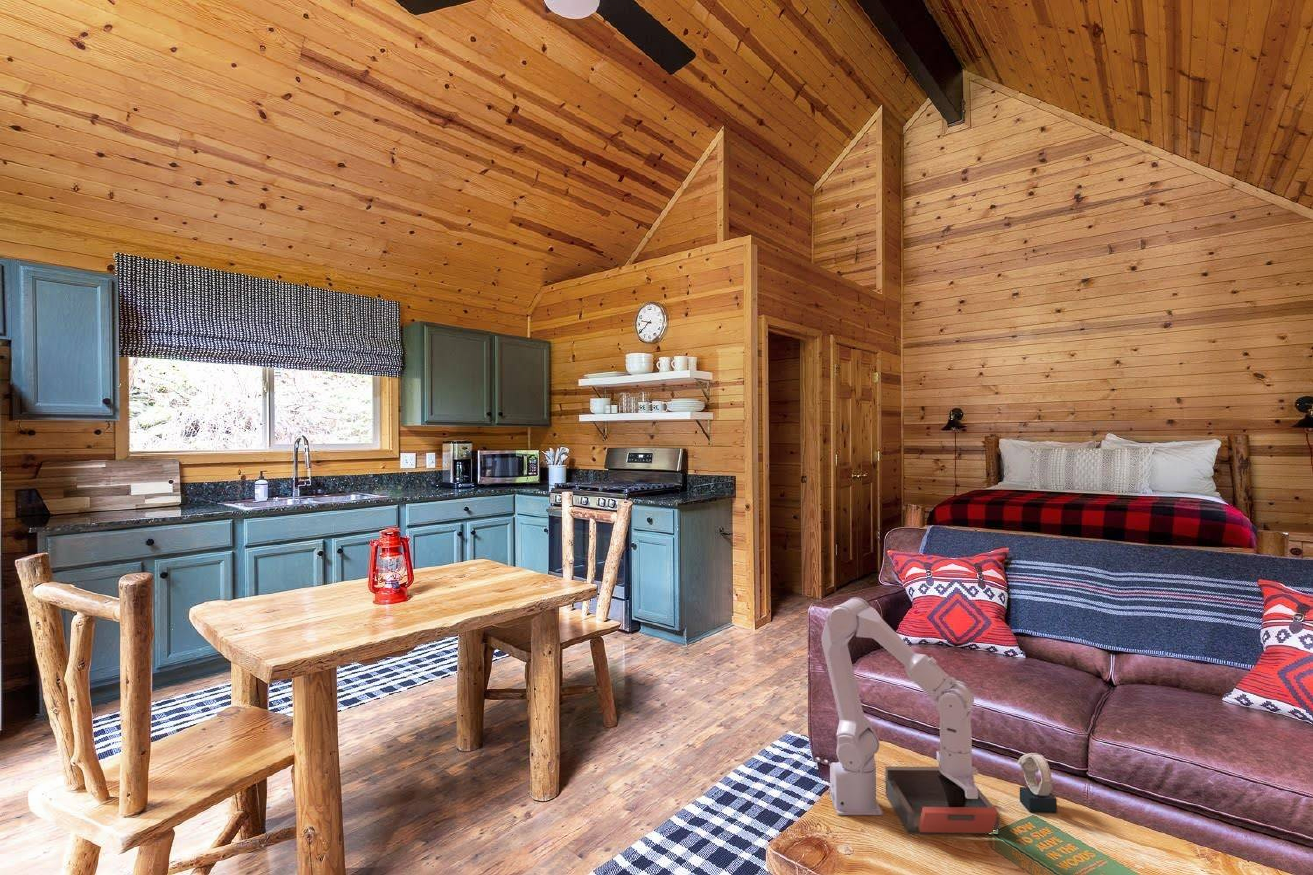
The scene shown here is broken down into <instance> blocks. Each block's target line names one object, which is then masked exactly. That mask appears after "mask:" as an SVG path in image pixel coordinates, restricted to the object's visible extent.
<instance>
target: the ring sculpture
mask: <svg viewBox="0 0 1313 875" xmlns="http://www.w3.org/2000/svg"><path fill="white" fill-rule="evenodd" d="M1017 764H1018V765H1019V766H1020V769H1021V772H1022V774H1023V777H1024V779H1025V782H1026V785H1027V786H1019V803H1021V805H1022V806H1023V807H1024V808H1025V809H1026V810H1027V811H1028V812H1029V813H1030V814H1058V802H1057V801H1058V800H1057V797H1056V796H1055V795H1054V794H1053V793H1052V788H1053V782H1052V781H1053V778H1052V773H1051V769H1050V766H1049V763H1048V761H1047V760H1046V758H1045V756H1043V754H1040V753H1036V752H1029V753H1025V754H1023V755H1022V756H1020V757H1019V759H1018V760H1017ZM1037 773H1040V780H1041V781H1039V783H1038V780H1037V776H1036V774H1037Z"/></svg>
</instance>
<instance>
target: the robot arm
mask: <svg viewBox="0 0 1313 875" xmlns="http://www.w3.org/2000/svg"><path fill="white" fill-rule="evenodd" d="M824 619H825V623H824V627H823V630H822V634H821V645H822V650H823V654H824V658H825V663H826V667H827V672H828V675H829V681H830V685H831V689H832V693H833V694H832V695H833V698H834V702H835V706H836V711H837V715H838V720H839V722H838V725H837V726H838V727H837V730H836V739H837V744H836V745H837V746H836V750H835V751H836V752H835V753H836V757H837V760H838V762H832V763H830V766H829V783H830V784H829V787H830V788H829V790H830V789H831V790H830V791H829V798H830V799H831V802H832V804H833V807H834V808H835V811H836V813H837V815H839V816H883V811H882V809H881V806H880V805H879V803H878V801H877V776H876V775H877V768H876V767H877V764H876V760H875V754H877V753H878V751H879V749H880V745H881V744H880V740H879V737H878V734H877V733H876V732H875V730H874V729H873V726H872V722H871V720H869V719H868V717H866V716H865V714H864V710H863V705H862V700H861V698H860V694H859V693H860V692H859V689H858V684H857V680H856V676H855V671H854V667H853V663H852V660H851V654H850V650H849V646H848V644H849V641H851V639H852V638H853V636H855V637H856V638H867V639H873V640H874V641H875V642H877V643H878V644H879V645H880V646H882V647H883V648H884V649H885V651H886V650H887V652H888V653H890V655H892V656H893V657H895V658H896V659H897V661H899V662H901V664H903V665H904V668H905V674H906V676H908V678H909V679H910V680H912V681H913V682H914V683H915V685H917V686H918V687H919V688H920V689H921V690H922V691H924V693H925V694H926V695H928V697H929V698H931V700H933V701H934V707H935V709H936V711H937V712H938V714H939V750H936V762H938V767H939V771H940V772H941V775H939V779H940V781H941V783H942V785H943V788H944V791H945V794H946V798H947V802H948V806H949V807H965V804H966V801H967V799H978V789H979V788H978V786H977V785H976V784H975V782H976V781H975V776H977V775H978V774H979V771H978V769H977V768H976V767H975V766H973V755H972V752H973V751H972V750H973V749H972V748H973V746H972V744H973V743H972V742H973V741H972V719H971V711H970V710H971V709H972V707H973V705H974V702H975V696H974V694H973V693H974V692H972V689H971V688H970V687H969V686H968V685H967V684H966V683H965V682H962V681H960V680H957V679H955V677H953V676H952V677H951V676H950V675H949V674H948V673H947V672H945V670H943V669H942V667H940V666H939V665H938V664H937V662H938V661H937V660H936V658H934V657H933V656H931V657H929V655H927V654H925V653H924V654H923V653H922V654H921V653H917V652H915V650H914V649H913V648H911V646H910V645H908V643H906V642H905V641H904V639H902V637H901V636H900V635H899V634H897V632H896V631H895V630H894V629H893V628H892V627H891V626H890V625H889V624H888V623H887V622H886V621H885V620H884V619H883V618H882V616H881V614H879V612H878V610H876V609H875V608H874V607H872V606H870V604H869V603H868V602H867V601H866V600H865V599H863V598H861V597H858V596H857V597H851V598H849V599H848V600H846V601H844V602H843V603H841V604H837V605H835V606H833V607H832V608H831V609H830V610H829V611H828V613H826V615H825V616H824ZM975 785H976V786H977V787H976V786H975ZM977 788H978V789H977Z"/></svg>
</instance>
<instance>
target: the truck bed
mask: <svg viewBox="0 0 1313 875" xmlns="http://www.w3.org/2000/svg"><path fill="white" fill-rule="evenodd" d="M884 769H885V771H884V772H885V778H884V779H885V780H884V781H885V796H886V799H887V800H888V802H889V804H890V805H891V807H892V809H893V811H894V813H895V814H896V816H897V818H898V820H899V822H900V823H901V824H902V827H903V828H904V830H905V832H906V833H907V835H963V836H964V835H967V836H968V835H973V836H974V835H975V836H977V835H978V836H979V835H980V836H983V835H984V836H988V835H989V833H945V832H920V830H919V827H918V826H919V821H920V817H921V813H922V808H923V807H949V806H948V802H947V798H946V794H945V791H944V788H943V785H942V783H941V781H940V779H939V775H941V772H940V771H939V766H894V765H893V766H890V765H889V766H887V765H885V766H884ZM975 786H976V787H977V789H978V799H967V801H966V804H965V807H990V808H995V807H994V805H993V804H992V803H991V802H990V800H988V797H986V796H985V794H983V792H982V791H981V790H980V789H979V788H978V786H977V785H976V784H975ZM997 812H998V815H997V819H996V822H995V825H994V828H993V830H997V829H999V830H1000V828H999V826H1000V825H999V824H1000V823H999V817H1000V816H999V811H998V810H997ZM989 836H990V835H989Z"/></svg>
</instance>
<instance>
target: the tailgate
mask: <svg viewBox="0 0 1313 875" xmlns="http://www.w3.org/2000/svg"><path fill="white" fill-rule="evenodd" d="M997 811H998V810H997V807H994V808H990V807H923V808H922V813H921V817H920V821H919V826H918V827H919V830H920V832H945V833H991V832H993V828H994V825H995V822H996V819H997V815H998V812H999V811H998V812H997Z"/></svg>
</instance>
